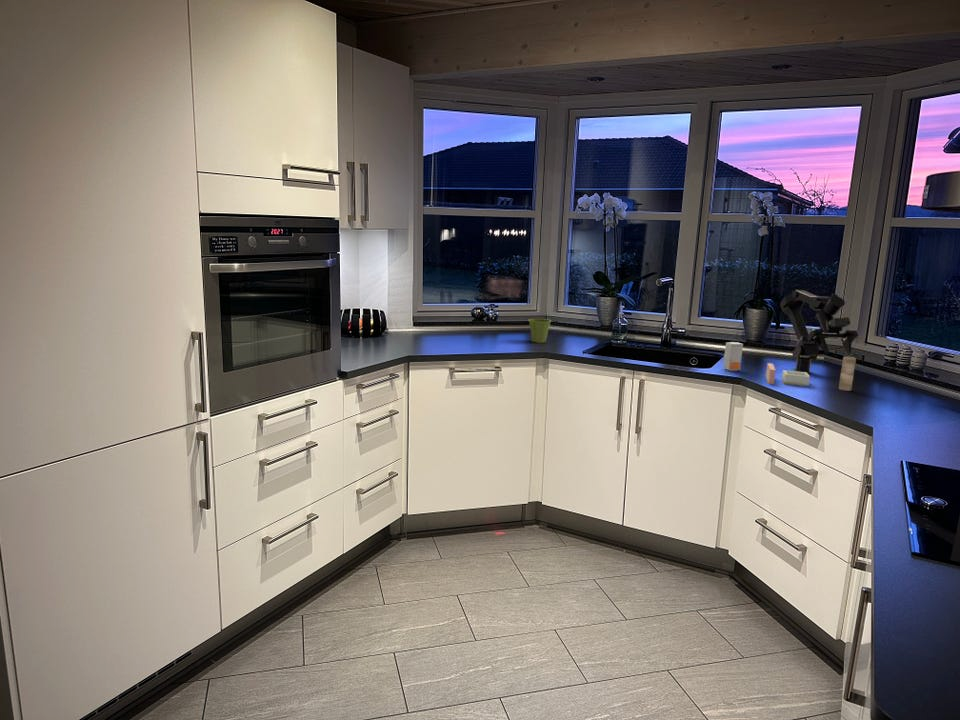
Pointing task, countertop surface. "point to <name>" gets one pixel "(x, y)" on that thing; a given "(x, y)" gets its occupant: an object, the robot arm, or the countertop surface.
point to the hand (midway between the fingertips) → (838, 352)
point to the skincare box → (732, 356)
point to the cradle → (795, 378)
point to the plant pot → (539, 329)
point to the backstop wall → (770, 373)
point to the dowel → (847, 373)
